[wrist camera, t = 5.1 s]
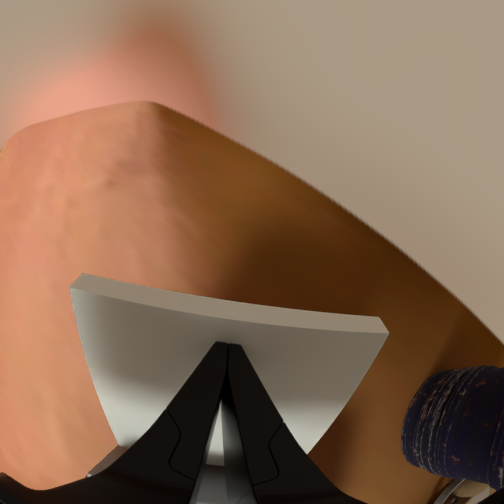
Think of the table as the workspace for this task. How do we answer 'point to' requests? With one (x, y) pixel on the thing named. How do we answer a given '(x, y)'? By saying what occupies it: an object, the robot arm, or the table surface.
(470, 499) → the alarm clock
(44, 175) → the table surface
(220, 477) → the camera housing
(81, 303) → the door
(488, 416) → the storage jar
